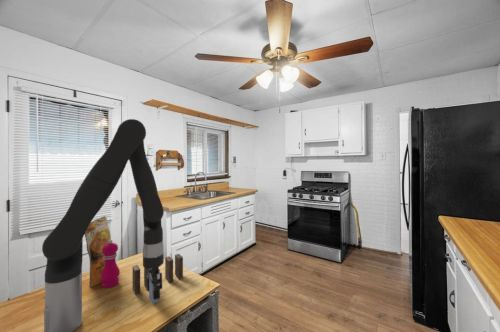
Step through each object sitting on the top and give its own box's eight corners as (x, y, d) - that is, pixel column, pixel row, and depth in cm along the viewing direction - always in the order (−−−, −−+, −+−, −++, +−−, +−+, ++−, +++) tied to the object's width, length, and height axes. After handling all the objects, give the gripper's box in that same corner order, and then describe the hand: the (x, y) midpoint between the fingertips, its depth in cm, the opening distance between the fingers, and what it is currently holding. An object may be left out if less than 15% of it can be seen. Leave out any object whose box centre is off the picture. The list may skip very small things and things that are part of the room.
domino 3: (152, 304, 83) (152, 278, 83) (149, 297, 87) (149, 273, 87) (158, 302, 84) (157, 276, 84) (154, 295, 88) (154, 271, 88)
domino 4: (168, 283, 98) (168, 261, 98) (165, 278, 102) (165, 257, 102) (173, 281, 99) (173, 259, 99) (169, 277, 103) (169, 256, 103)
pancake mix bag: (78, 290, 92) (77, 225, 92) (105, 268, 111) (105, 214, 111) (94, 289, 93) (93, 224, 92) (119, 268, 112) (118, 214, 111)
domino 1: (135, 294, 89) (134, 270, 89) (132, 289, 93) (132, 266, 93) (140, 292, 90) (140, 269, 90) (137, 287, 94) (137, 264, 94)
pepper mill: (118, 286, 95) (117, 241, 95) (98, 290, 92) (98, 243, 92) (121, 278, 102) (120, 236, 101) (103, 281, 99) (102, 238, 99)
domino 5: (178, 279, 101) (178, 258, 101) (174, 275, 105) (174, 254, 104) (182, 278, 102) (182, 257, 102) (179, 273, 106) (178, 253, 106)
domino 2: (147, 290, 92) (146, 267, 92) (144, 285, 96) (144, 263, 96) (151, 288, 93) (151, 265, 93) (148, 283, 97) (148, 261, 97)
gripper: (138, 249, 89) (139, 288, 89) (147, 262, 78) (148, 306, 78) (158, 245, 93) (158, 282, 94) (169, 256, 82) (169, 298, 82)
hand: (153, 293), depth 86 cm, fingers open, 8 cm apart
